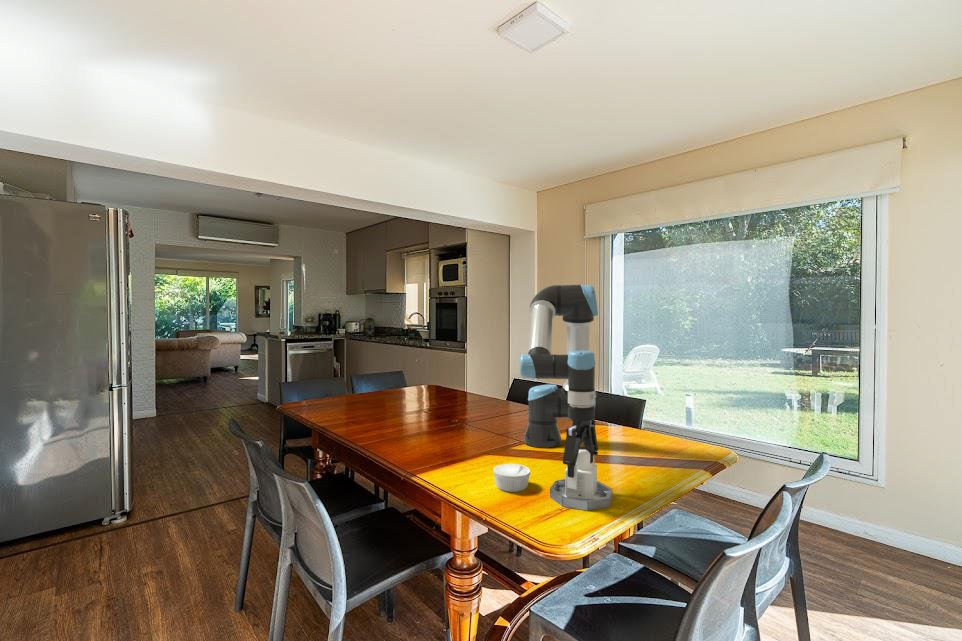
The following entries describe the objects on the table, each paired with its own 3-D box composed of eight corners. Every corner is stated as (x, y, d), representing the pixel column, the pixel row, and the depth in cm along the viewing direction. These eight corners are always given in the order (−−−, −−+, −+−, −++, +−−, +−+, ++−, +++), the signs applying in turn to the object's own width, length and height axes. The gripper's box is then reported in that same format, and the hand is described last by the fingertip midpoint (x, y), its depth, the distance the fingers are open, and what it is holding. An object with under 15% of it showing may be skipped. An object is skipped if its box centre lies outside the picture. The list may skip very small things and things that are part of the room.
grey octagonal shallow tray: (545, 503, 125) (545, 494, 125) (559, 483, 141) (559, 475, 141) (606, 513, 119) (606, 504, 119) (614, 491, 134) (614, 483, 134)
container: (570, 486, 135) (570, 443, 135) (597, 490, 132) (597, 446, 132) (564, 496, 128) (565, 450, 128) (592, 500, 125) (592, 453, 125)
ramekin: (536, 491, 134) (536, 473, 134) (500, 495, 131) (500, 477, 131) (522, 478, 145) (522, 462, 145) (488, 482, 142) (488, 465, 142)
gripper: (574, 413, 118) (574, 498, 118) (609, 400, 136) (609, 474, 136) (549, 410, 123) (549, 491, 123) (586, 397, 141) (586, 468, 141)
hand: (581, 482), depth 130 cm, fingers open, 10 cm apart
